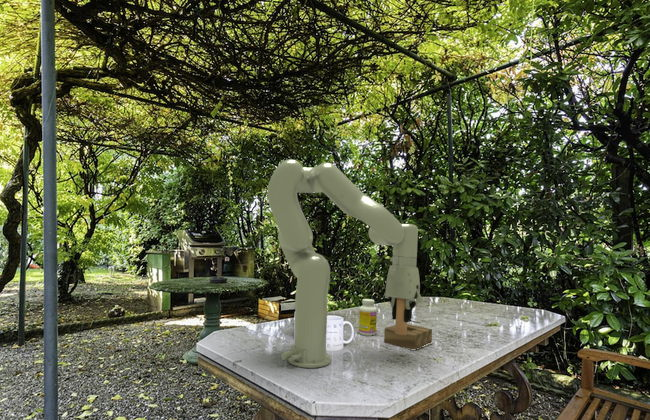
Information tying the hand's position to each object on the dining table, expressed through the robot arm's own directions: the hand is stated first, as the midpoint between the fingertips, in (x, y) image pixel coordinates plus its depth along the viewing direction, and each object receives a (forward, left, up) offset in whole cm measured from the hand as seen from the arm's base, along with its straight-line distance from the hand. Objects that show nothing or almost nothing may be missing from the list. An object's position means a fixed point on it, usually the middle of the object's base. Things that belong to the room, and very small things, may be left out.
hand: (401, 319), depth 116 cm
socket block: (+14, +6, -11) cm, 19 cm away
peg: (0, 0, -4) cm, 4 cm away
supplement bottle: (+13, +23, -11) cm, 28 cm away
